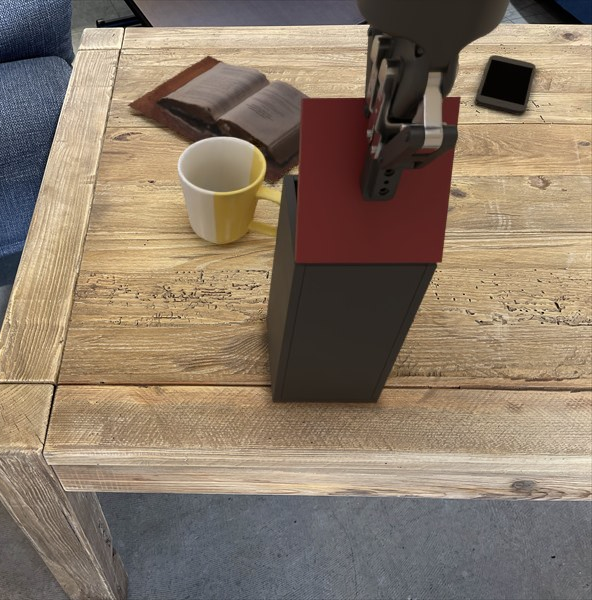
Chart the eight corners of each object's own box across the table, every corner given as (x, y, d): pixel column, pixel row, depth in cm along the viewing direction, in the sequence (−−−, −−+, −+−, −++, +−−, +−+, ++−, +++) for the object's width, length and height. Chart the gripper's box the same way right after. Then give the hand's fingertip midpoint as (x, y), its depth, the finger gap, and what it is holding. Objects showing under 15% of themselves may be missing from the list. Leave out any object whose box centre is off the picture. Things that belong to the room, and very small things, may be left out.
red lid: (301, 98, 42) (303, 97, 41) (456, 96, 41) (461, 96, 40) (294, 260, 45) (296, 263, 44) (437, 260, 45) (442, 262, 44)
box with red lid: (266, 319, 68) (283, 173, 52) (360, 319, 67) (408, 173, 51) (272, 402, 61) (294, 266, 45) (377, 403, 61) (438, 265, 45)
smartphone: (535, 67, 98) (538, 62, 98) (524, 116, 90) (526, 111, 89) (488, 58, 101) (490, 52, 100) (472, 105, 92) (474, 100, 92)
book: (273, 188, 82) (277, 161, 78) (126, 109, 93) (124, 82, 90) (348, 128, 92) (355, 101, 89) (208, 63, 103) (209, 37, 100)
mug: (164, 232, 77) (158, 166, 69) (215, 191, 81) (216, 125, 73) (248, 285, 71) (253, 220, 63) (298, 237, 76) (309, 172, 67)
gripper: (591, -26, 24) (454, 264, 38) (493, -134, 32) (409, 135, 46) (403, -23, 24) (333, 264, 38) (353, -131, 33) (310, 136, 46)
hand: (375, 193), depth 42 cm, fingers closed
